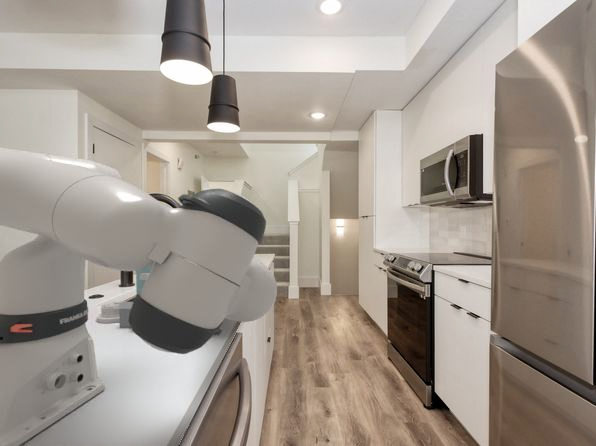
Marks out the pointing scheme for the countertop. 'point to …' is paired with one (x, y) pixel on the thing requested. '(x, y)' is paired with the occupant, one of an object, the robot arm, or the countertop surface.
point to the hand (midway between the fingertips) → (146, 274)
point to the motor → (125, 312)
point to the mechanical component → (109, 313)
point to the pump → (141, 282)
